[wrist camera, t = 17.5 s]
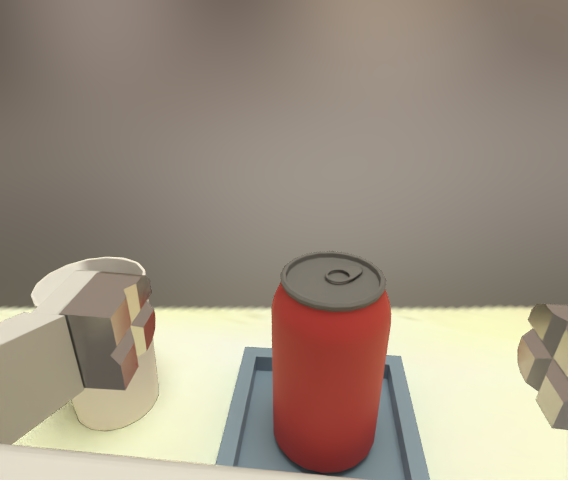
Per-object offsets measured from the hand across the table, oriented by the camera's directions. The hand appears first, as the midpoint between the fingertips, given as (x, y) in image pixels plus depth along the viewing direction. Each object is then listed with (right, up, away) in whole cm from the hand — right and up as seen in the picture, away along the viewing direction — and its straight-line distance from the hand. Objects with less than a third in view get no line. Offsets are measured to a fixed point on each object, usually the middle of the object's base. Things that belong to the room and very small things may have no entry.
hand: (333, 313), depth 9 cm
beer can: (+2, -11, +19) cm, 22 cm away
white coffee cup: (-13, -10, +22) cm, 28 cm away
